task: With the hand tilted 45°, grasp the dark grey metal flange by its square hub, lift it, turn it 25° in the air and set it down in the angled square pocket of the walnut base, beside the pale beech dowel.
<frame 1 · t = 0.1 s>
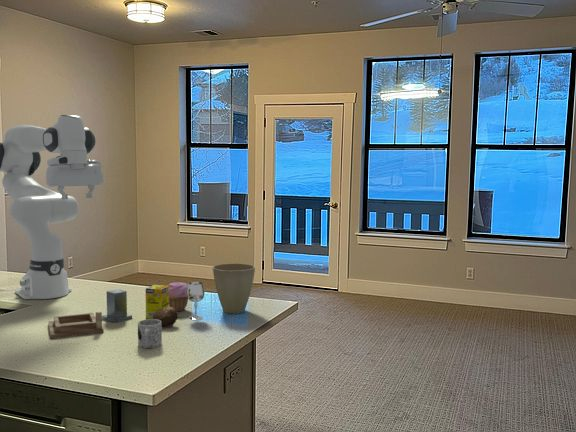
hand: (77, 198, 202), 39 cm above the counter, fingers open, 8 cm apart
wineglass: (195, 318, 191), on the counter
mug: (149, 347, 162), on the counter
flange: (117, 319, 189), on the counter
cupcake: (178, 310, 201), on the counter
flange base: (75, 328, 178), on the counter
supplement box: (157, 319, 190), on the counter
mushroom: (165, 326, 182), on the counter
plant pot: (233, 311, 200), on the counter
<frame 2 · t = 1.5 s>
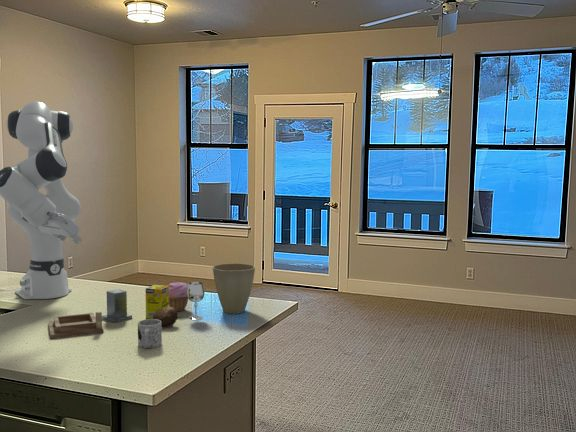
hand: (71, 240, 181), 27 cm above the counter, fingers open, 8 cm apart
nothing on the counter moved.
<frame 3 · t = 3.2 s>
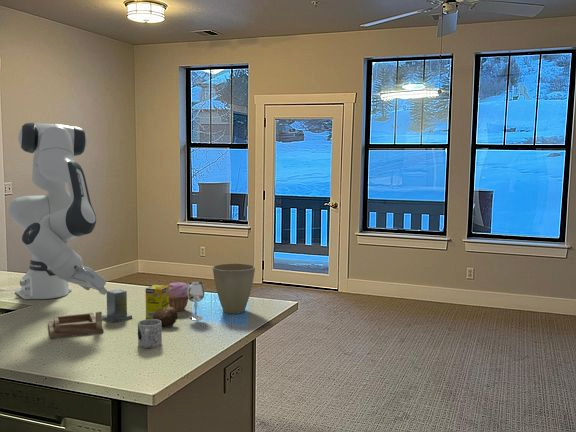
hand: (96, 290, 183), 11 cm above the counter, fingers open, 8 cm apart
nothing on the counter moved.
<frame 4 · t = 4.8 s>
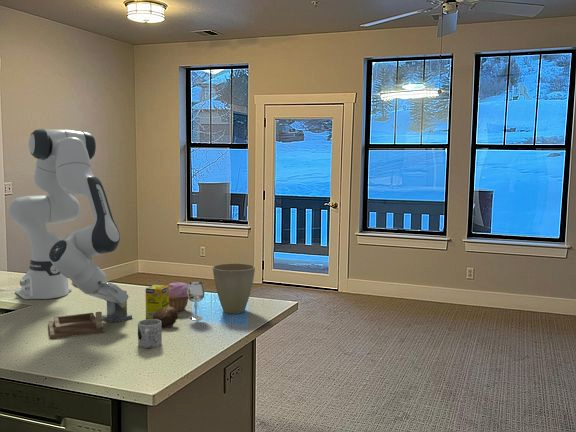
hand: (118, 304, 189), 5 cm above the counter, fingers closed on flange, 5 cm apart
flange: (117, 318, 189), on the counter, touching gripper
everything else where it was.
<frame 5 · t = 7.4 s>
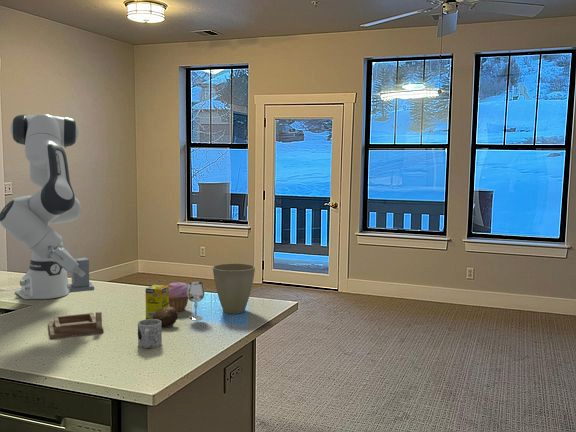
hand: (82, 273, 178), 17 cm above the counter, fingers closed on flange, 5 cm apart
flange: (80, 289, 178), point 12 cm above the counter, touching gripper
everything else where it was.
when the fingers open (7 cm above the counter, at t = 9.9 s): flange drops 1 cm, resting on flange base.
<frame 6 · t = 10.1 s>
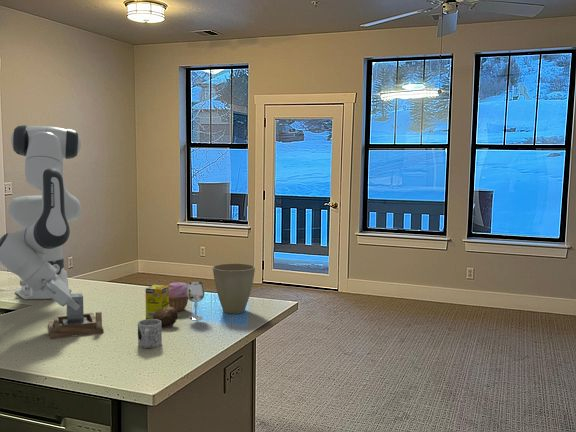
hand: (77, 305, 177), 8 cm above the counter, fingers open, 6 cm apart
flange: (75, 325, 178), point 1 cm above the counter, touching flange base
everything else where it was.
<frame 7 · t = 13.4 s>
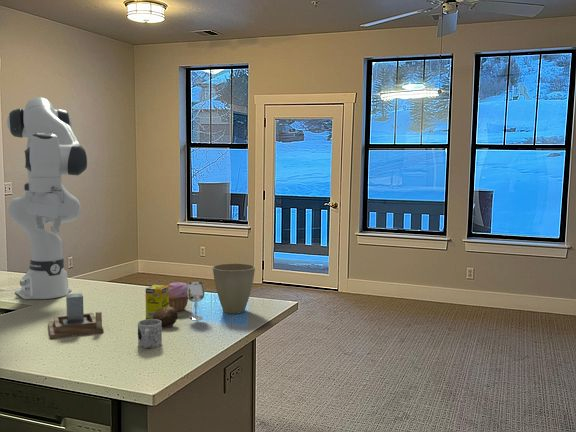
hand: (47, 230, 175), 31 cm above the counter, fingers open, 8 cm apart
nothing on the counter moved.
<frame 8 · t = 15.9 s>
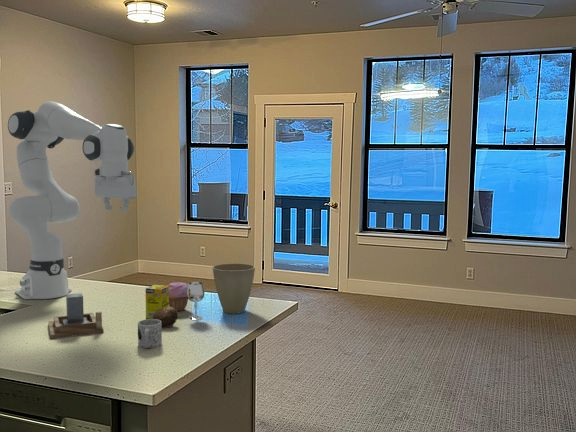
hand: (116, 211, 197), 35 cm above the counter, fingers open, 8 cm apart
nothing on the counter moved.
at the end: flange 0.1 cm from the flange base (horizontally); flange tilted 0°; the gripper is holding nothing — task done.
